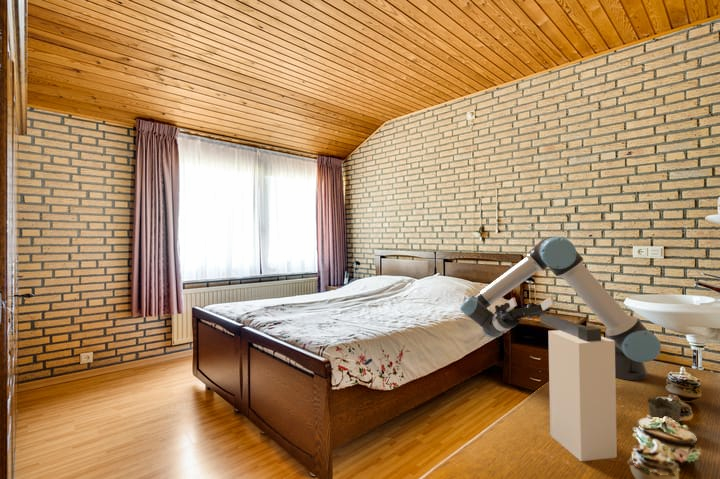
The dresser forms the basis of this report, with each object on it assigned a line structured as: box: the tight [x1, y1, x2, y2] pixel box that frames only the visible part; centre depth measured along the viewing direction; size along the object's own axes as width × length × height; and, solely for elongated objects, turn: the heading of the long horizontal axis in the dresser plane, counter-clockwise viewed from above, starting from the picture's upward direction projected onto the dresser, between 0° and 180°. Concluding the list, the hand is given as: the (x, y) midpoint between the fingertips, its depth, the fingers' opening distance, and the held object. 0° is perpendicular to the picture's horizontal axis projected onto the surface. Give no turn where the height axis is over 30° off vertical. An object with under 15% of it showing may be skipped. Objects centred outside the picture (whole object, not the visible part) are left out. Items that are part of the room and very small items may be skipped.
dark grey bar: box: [539, 313, 602, 341], centre depth 102 cm, size 4×20×3 cm, turn 7°
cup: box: [647, 396, 682, 424], centre depth 104 cm, size 8×7×8 cm
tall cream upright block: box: [547, 329, 618, 462], centre depth 98 cm, size 10×12×30 cm
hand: (533, 300), depth 123 cm, fingers open, 13 cm apart
